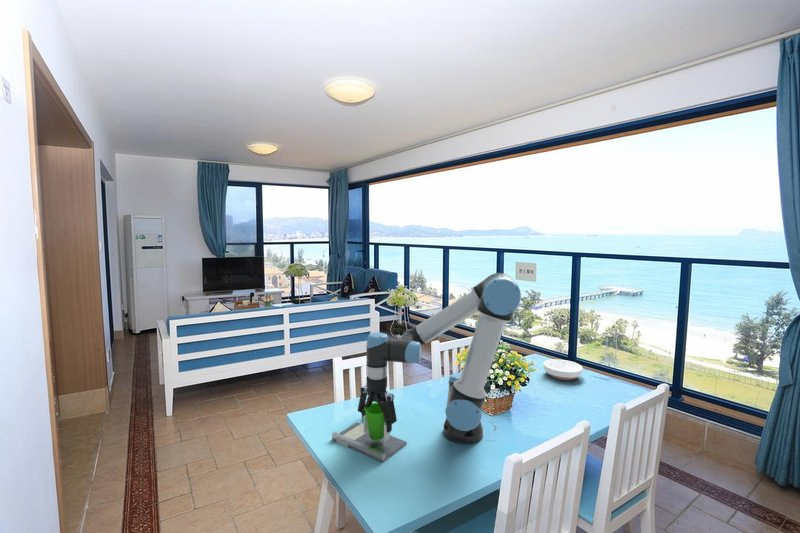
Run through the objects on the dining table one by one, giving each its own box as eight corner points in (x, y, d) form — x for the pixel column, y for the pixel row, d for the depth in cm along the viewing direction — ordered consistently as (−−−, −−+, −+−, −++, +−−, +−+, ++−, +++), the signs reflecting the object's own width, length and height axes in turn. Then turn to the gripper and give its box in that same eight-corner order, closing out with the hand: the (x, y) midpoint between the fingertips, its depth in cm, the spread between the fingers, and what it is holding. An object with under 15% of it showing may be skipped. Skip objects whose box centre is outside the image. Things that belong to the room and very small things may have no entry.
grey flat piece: (406, 444, 143) (406, 437, 142) (382, 462, 131) (382, 455, 131) (357, 424, 157) (357, 418, 156) (332, 439, 145) (332, 433, 145)
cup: (359, 440, 140) (359, 411, 139) (370, 428, 149) (371, 400, 147) (382, 445, 137) (382, 415, 136) (392, 433, 145) (393, 404, 144)
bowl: (546, 382, 202) (547, 370, 201) (539, 368, 221) (540, 358, 220) (587, 384, 199) (587, 373, 198) (576, 371, 218) (576, 360, 217)
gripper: (407, 379, 137) (406, 440, 139) (361, 366, 150) (360, 422, 152) (394, 386, 131) (394, 450, 133) (347, 372, 144) (347, 430, 146)
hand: (376, 435), depth 143 cm, fingers closed on cup, 9 cm apart
